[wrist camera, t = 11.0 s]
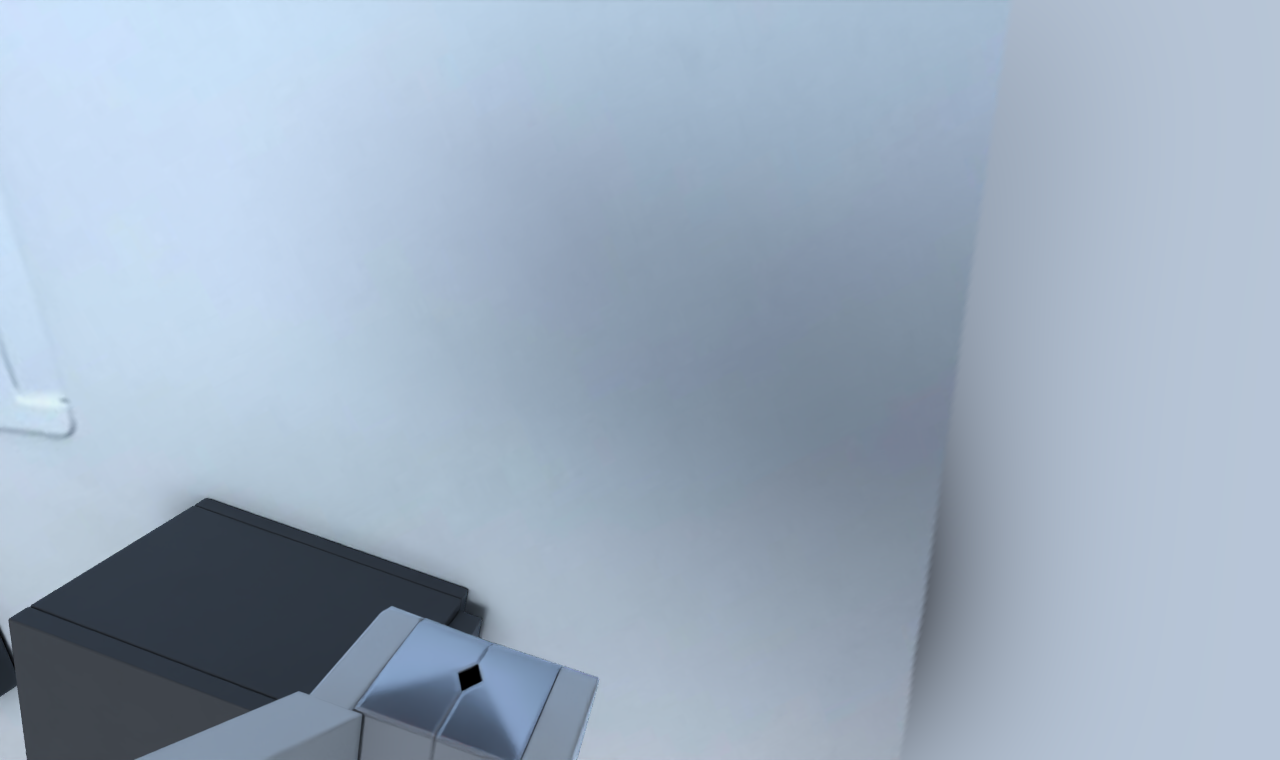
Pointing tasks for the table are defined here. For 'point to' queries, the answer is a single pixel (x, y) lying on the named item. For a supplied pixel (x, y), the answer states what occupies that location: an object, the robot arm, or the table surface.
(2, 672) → the battery charger
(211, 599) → the dark grey box
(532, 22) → the table surface
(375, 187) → the table surface
